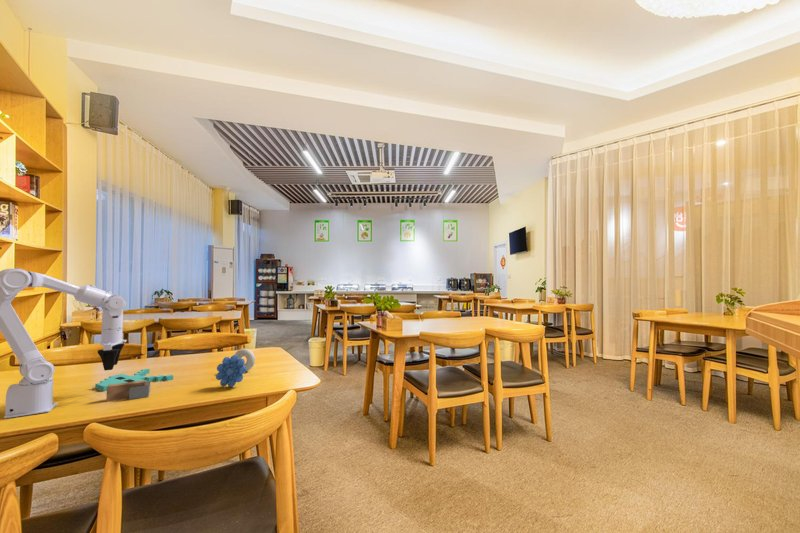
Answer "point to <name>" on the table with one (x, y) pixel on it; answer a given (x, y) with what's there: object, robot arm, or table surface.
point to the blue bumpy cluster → (231, 371)
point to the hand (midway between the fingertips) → (110, 367)
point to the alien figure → (130, 379)
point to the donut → (248, 355)
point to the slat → (121, 390)
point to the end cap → (139, 391)
